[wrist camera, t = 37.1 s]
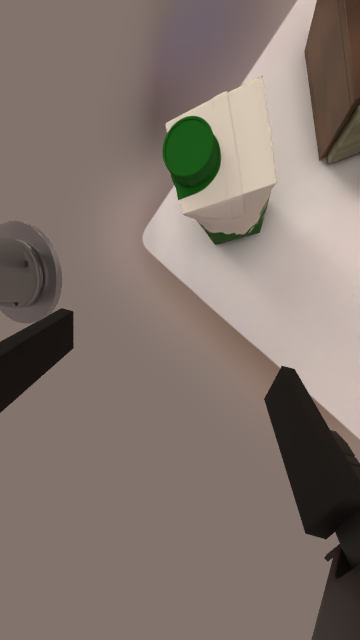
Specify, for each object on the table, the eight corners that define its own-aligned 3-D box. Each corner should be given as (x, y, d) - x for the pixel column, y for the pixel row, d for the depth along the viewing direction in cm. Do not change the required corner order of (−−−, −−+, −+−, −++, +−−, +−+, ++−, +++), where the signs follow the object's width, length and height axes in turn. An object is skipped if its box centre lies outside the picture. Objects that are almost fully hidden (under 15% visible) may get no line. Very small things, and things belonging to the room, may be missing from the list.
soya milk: (201, 197, 35) (146, 97, 16) (259, 177, 32) (275, 24, 13) (210, 251, 36) (169, 217, 17) (267, 236, 33) (295, 174, 14)
